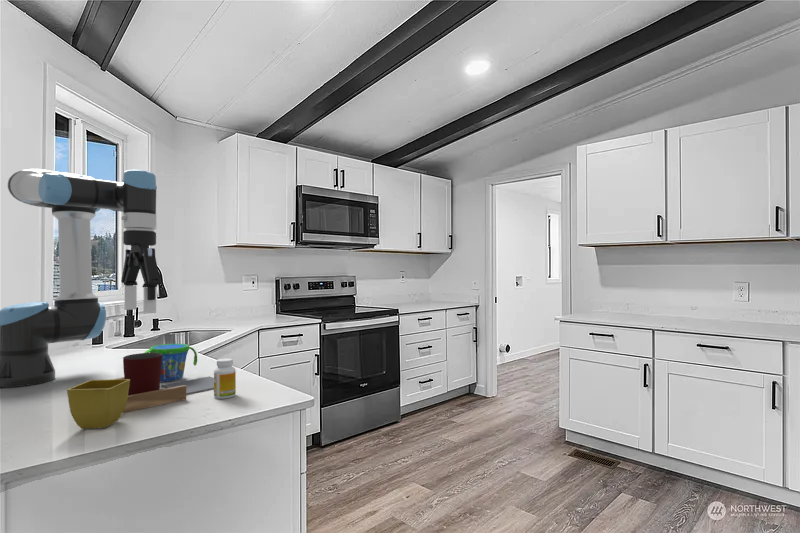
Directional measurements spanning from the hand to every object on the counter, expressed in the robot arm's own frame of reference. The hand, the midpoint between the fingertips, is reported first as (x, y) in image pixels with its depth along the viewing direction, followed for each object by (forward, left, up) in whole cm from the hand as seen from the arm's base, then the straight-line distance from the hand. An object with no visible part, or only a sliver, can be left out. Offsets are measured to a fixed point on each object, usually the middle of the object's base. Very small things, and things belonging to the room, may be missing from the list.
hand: (139, 311), depth 121 cm
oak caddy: (0, -2, -23) cm, 23 cm away
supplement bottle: (+16, +15, -23) cm, 32 cm away
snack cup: (-14, +13, -23) cm, 30 cm away
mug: (0, 0, -23) cm, 23 cm away
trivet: (0, +15, -23) cm, 27 cm away
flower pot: (+17, -14, -23) cm, 31 cm away
